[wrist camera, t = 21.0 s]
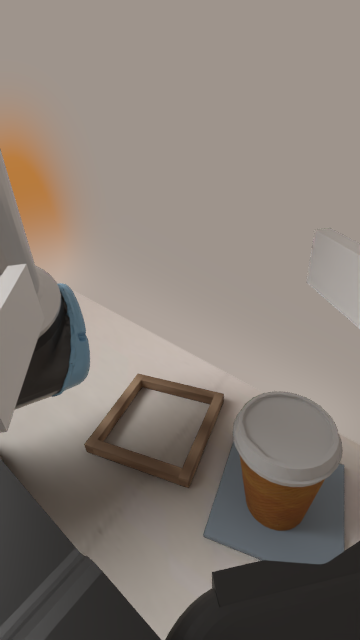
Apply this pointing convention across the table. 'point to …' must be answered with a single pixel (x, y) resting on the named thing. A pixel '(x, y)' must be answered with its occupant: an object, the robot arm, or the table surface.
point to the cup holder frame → (144, 462)
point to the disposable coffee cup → (284, 455)
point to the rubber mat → (267, 544)
